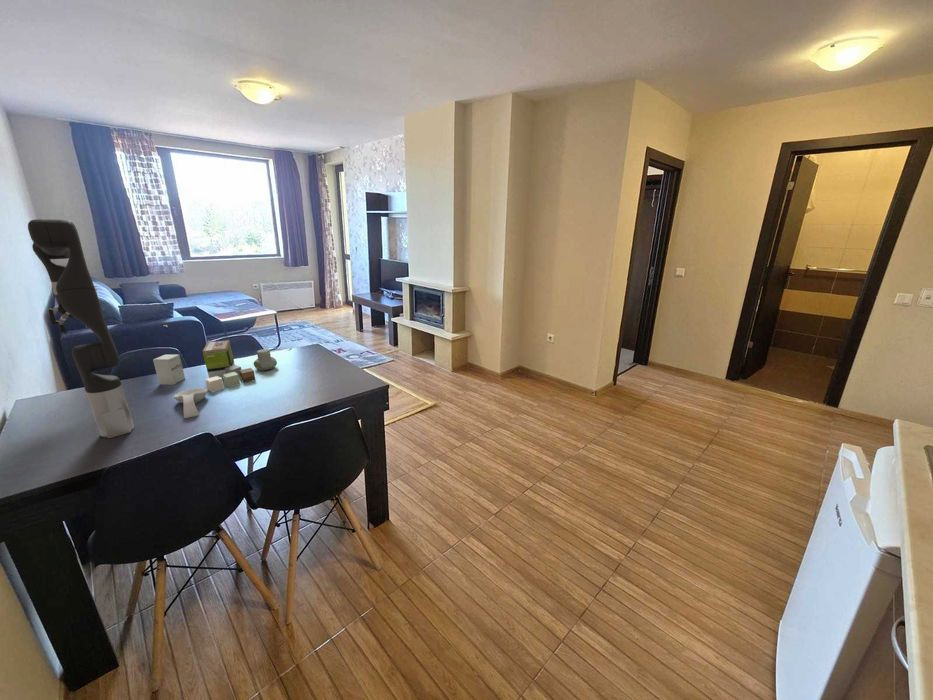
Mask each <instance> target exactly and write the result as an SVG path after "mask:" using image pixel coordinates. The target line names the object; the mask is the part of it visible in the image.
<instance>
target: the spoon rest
mask: <svg viewBox="0 0 933 700" xmlns="http://www.w3.org/2000/svg"><path fill="white" fill-rule="evenodd" d="M207 393H208V389H207V388H203V387H197V388H196V387H195V388H192V389H187V390H183V391H180V392H177V393H176V394H174V395H173V398H174V399H175V401H177V402H179V403H182V404H183V406H182V407H183V409H182V410H183V418H184V419H188V418H193V417H198V416H199V411H198V408H197V407H196V404H197V403H199V402H200V401H202V400H203V399H204V398H205V397H206V396H207Z"/></svg>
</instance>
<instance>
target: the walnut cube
mask: <svg viewBox="0 0 933 700" xmlns="http://www.w3.org/2000/svg"><path fill="white" fill-rule="evenodd" d="M239 371H240V376H241V377H240V381H242V383H244V384H245V383H249V381H250V382H253V381H252V380H254V381H256V376H255V370H254V369H253V368H252V367H248V368H244V369H241V370H239Z"/></svg>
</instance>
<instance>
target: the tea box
mask: <svg viewBox="0 0 933 700" xmlns="http://www.w3.org/2000/svg"><path fill="white" fill-rule="evenodd" d="M202 356H203V359H204V363H205V366H206V372H207V374H208V375H207V376H208V378H211V377H215V376H218V377H220V378H223V374H226V372H225V368H227V367H230V366H234V365H236V363H235V360H234V356H233V351H232V347H231V343H230V339H228V340H220V341H210V342H207V343H206V344H205V347H204V348H203V349H202Z"/></svg>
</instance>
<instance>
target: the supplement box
mask: <svg viewBox="0 0 933 700" xmlns="http://www.w3.org/2000/svg"><path fill="white" fill-rule="evenodd" d="M152 361H153V365H154V368H155V373H156V376H157V380H158V384H159V385H169V386H171V385H176V384H178V383H179V382H181V381H183V380H185V379H186V377H185V373H184V368H183V364H182V360H181V356H180V354H163V355H161V356H158V357H156V358H153V359H152Z"/></svg>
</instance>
